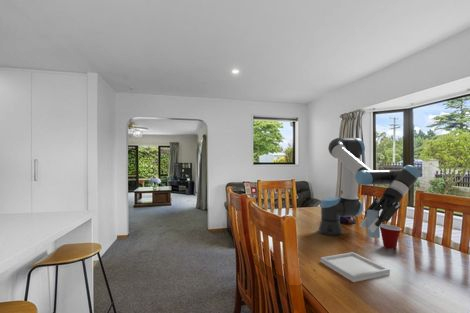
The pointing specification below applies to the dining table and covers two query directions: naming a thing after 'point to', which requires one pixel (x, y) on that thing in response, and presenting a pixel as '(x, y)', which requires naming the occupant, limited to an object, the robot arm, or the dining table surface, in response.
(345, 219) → the decorative bottle
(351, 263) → the tray
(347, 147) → the robot arm
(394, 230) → the plastic cup
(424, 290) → the dining table surface
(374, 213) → the dowel pin
